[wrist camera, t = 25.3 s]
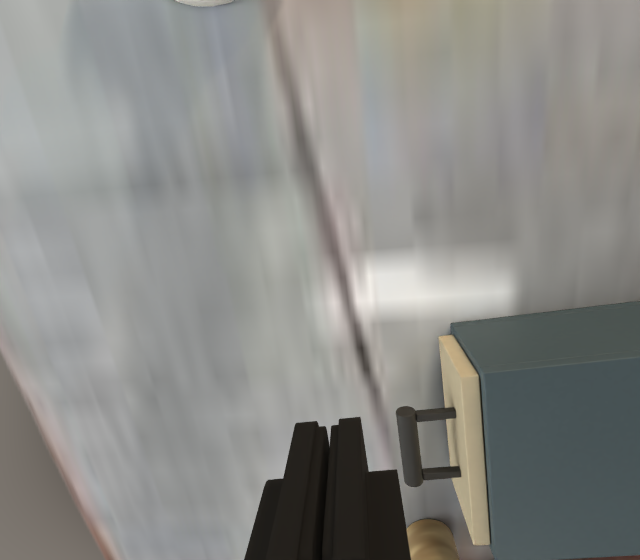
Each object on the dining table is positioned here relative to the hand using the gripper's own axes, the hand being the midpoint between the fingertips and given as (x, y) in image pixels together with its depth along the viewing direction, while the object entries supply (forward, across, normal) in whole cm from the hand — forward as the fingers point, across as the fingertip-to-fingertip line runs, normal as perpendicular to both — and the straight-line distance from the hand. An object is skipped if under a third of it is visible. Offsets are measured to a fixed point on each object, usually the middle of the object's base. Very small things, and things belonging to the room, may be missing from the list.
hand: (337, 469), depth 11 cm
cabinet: (+23, -15, +13) cm, 30 cm away
